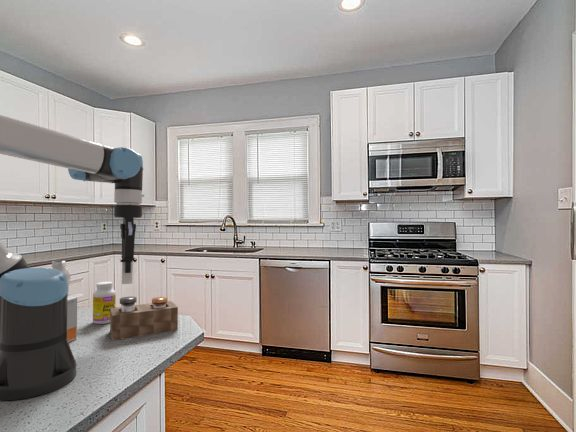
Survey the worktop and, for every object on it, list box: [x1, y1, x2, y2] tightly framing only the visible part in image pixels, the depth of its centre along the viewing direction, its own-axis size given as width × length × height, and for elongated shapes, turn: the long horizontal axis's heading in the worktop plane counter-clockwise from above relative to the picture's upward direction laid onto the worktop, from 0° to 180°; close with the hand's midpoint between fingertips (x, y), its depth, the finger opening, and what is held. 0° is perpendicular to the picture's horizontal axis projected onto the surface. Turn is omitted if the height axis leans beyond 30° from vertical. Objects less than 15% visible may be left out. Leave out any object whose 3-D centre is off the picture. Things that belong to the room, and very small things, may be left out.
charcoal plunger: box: [119, 296, 137, 313], centre depth 103 cm, size 5×5×9 cm
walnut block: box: [109, 300, 179, 341], centre depth 106 cm, size 18×9×7 cm, turn 121°
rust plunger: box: [151, 296, 168, 309], centre depth 108 cm, size 5×5×9 cm
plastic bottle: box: [51, 259, 71, 293], centre depth 113 cm, size 6×7×20 cm
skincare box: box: [67, 296, 78, 343], centre depth 96 cm, size 6×4×12 cm
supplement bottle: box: [92, 281, 117, 325], centre depth 114 cm, size 7×7×13 cm
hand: (127, 283), depth 103 cm, fingers closed
